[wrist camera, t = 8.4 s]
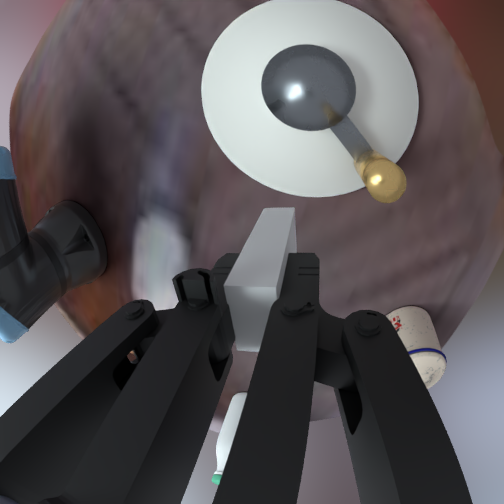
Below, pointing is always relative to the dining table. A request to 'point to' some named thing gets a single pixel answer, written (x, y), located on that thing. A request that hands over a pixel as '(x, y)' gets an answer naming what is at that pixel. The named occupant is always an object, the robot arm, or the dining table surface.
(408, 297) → the dining table surface
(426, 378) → the teacup with lid
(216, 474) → the milk bottle
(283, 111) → the lever
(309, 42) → the dial plate
